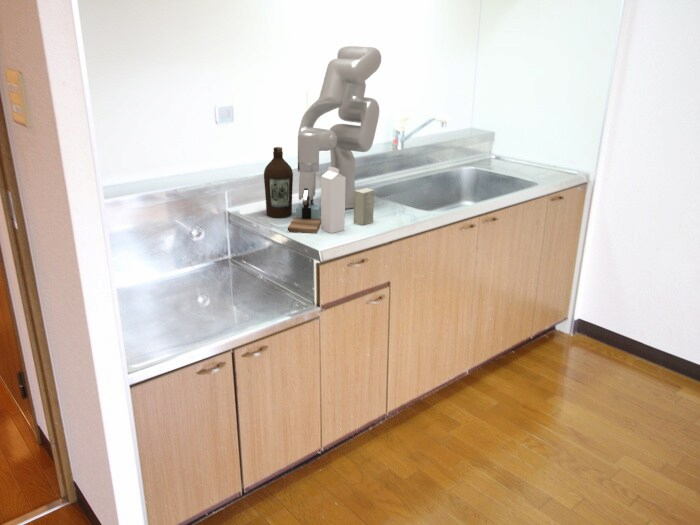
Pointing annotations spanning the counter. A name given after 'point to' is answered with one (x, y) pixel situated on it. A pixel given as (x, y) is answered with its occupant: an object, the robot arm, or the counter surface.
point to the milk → (333, 201)
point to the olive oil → (278, 186)
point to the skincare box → (363, 206)
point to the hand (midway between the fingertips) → (307, 215)
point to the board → (304, 225)
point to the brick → (314, 211)
